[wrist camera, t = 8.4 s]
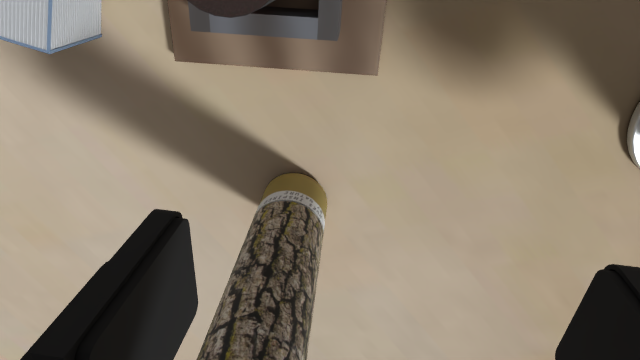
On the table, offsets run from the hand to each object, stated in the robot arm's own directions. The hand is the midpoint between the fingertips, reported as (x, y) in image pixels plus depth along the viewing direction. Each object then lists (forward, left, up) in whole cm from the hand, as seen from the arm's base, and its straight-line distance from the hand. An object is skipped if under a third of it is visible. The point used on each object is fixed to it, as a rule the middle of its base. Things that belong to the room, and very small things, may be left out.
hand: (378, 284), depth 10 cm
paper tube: (+6, +16, -30) cm, 34 cm away
